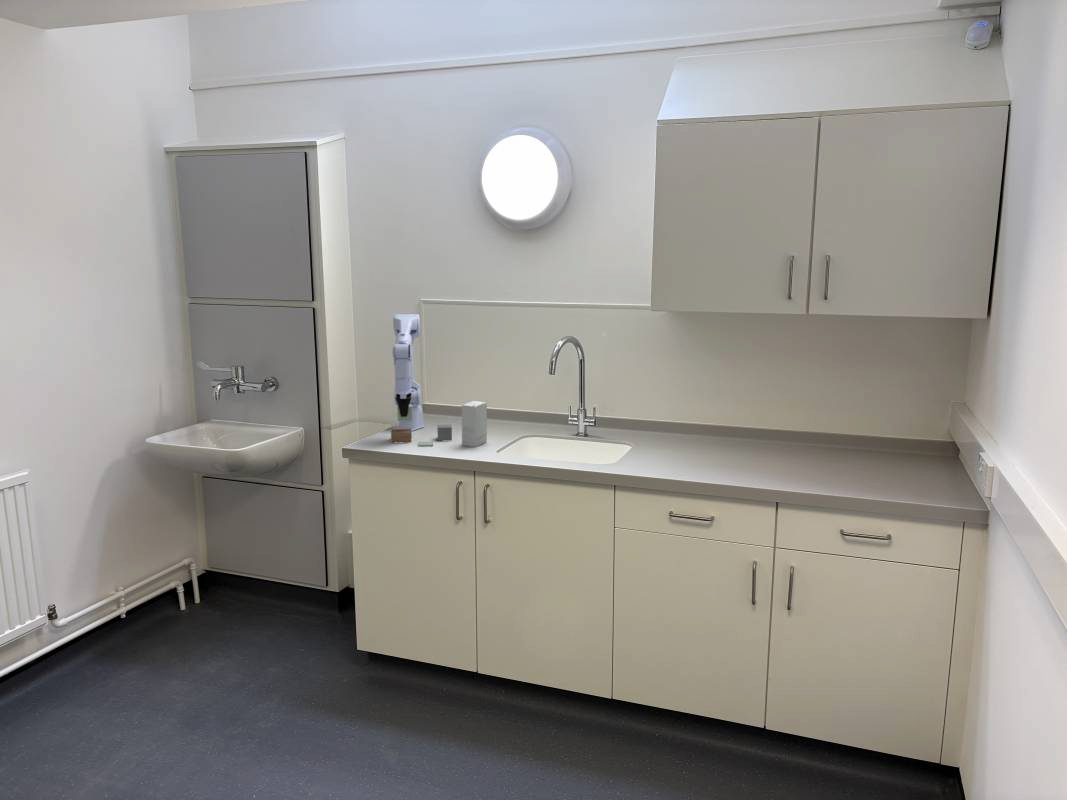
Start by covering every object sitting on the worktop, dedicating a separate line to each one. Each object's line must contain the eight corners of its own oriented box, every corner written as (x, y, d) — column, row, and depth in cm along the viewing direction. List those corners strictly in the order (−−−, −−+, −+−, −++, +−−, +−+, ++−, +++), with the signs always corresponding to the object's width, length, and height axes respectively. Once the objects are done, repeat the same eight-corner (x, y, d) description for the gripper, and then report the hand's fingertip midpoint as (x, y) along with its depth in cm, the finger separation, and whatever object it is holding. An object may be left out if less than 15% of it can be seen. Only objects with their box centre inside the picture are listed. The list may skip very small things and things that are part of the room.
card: (418, 443, 277) (418, 441, 277) (432, 442, 278) (432, 441, 278) (418, 446, 272) (418, 445, 272) (433, 446, 273) (432, 444, 273)
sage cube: (397, 418, 282) (397, 404, 281) (411, 417, 282) (411, 404, 281) (397, 420, 277) (397, 407, 276) (411, 420, 278) (411, 406, 277)
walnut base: (392, 439, 284) (391, 428, 283) (411, 438, 285) (411, 428, 284) (391, 443, 277) (391, 432, 276) (411, 443, 278) (410, 432, 277)
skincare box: (473, 440, 281) (472, 400, 278) (487, 442, 278) (487, 401, 276) (461, 445, 274) (460, 404, 271) (475, 447, 271) (475, 405, 268)
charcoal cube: (437, 438, 285) (437, 424, 284) (451, 437, 286) (451, 424, 285) (437, 441, 280) (437, 427, 279) (451, 440, 281) (451, 427, 280)
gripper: (414, 380, 270) (415, 418, 273) (414, 374, 284) (415, 410, 287) (393, 381, 269) (395, 419, 272) (394, 374, 283) (395, 411, 286)
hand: (404, 415), depth 279 cm, fingers closed on sage cube, 5 cm apart
